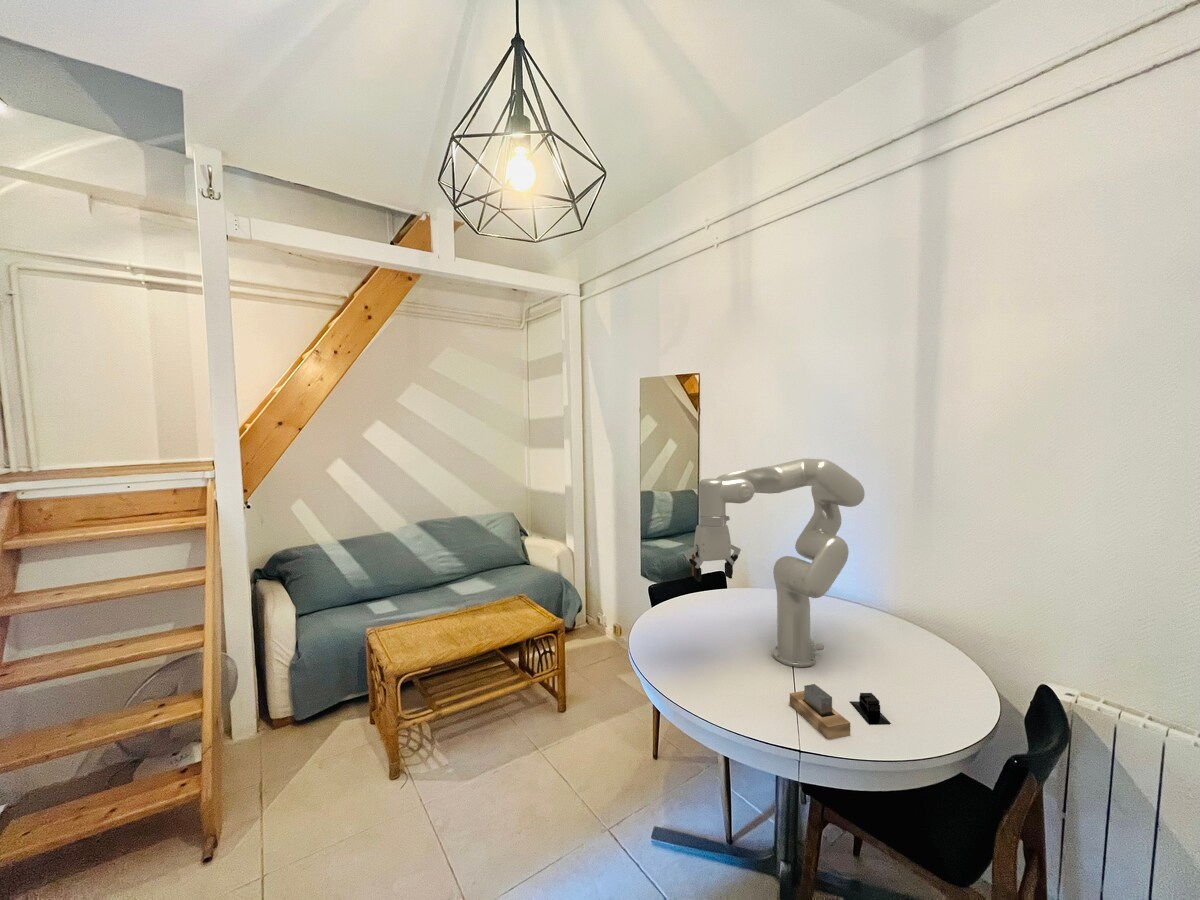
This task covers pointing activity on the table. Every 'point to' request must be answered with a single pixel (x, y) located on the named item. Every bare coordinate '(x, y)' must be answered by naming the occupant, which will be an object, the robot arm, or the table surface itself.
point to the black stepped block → (870, 709)
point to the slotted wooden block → (821, 718)
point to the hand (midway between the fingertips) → (713, 578)
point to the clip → (818, 700)
